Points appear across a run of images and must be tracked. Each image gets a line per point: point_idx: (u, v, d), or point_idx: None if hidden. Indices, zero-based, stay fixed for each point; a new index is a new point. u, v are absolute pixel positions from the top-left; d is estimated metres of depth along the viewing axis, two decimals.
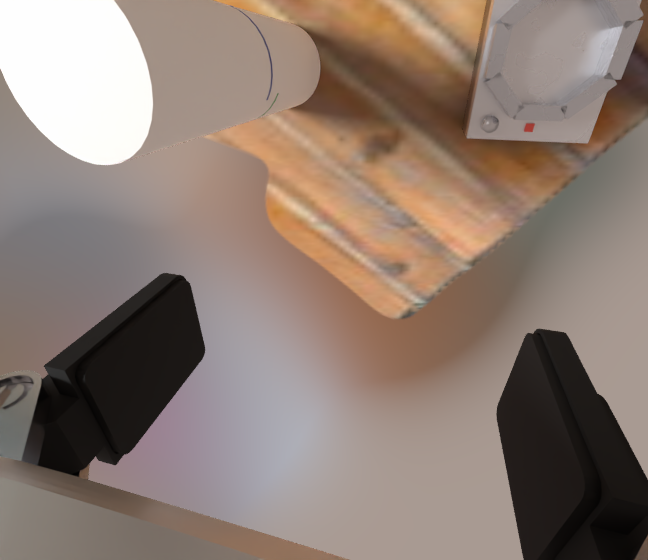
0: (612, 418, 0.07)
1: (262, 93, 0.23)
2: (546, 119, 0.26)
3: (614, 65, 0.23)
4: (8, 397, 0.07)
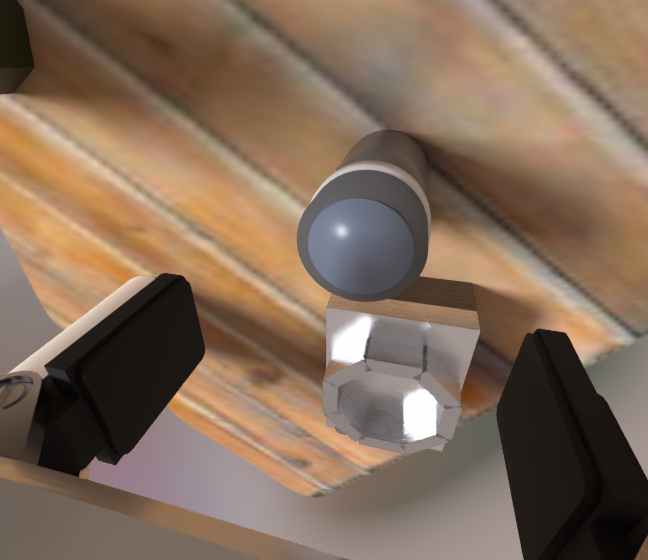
0: (611, 417, 0.07)
1: None
2: (388, 449, 0.25)
3: (442, 430, 0.22)
4: (8, 397, 0.07)
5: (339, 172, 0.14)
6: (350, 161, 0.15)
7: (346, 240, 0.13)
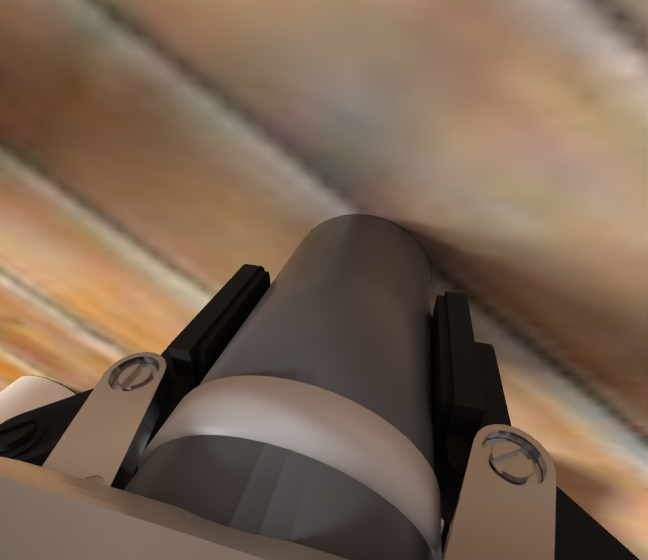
0: (495, 360, 0.08)
1: None
2: None
3: None
4: (137, 376, 0.07)
5: (189, 425, 0.05)
6: (253, 339, 0.07)
7: None
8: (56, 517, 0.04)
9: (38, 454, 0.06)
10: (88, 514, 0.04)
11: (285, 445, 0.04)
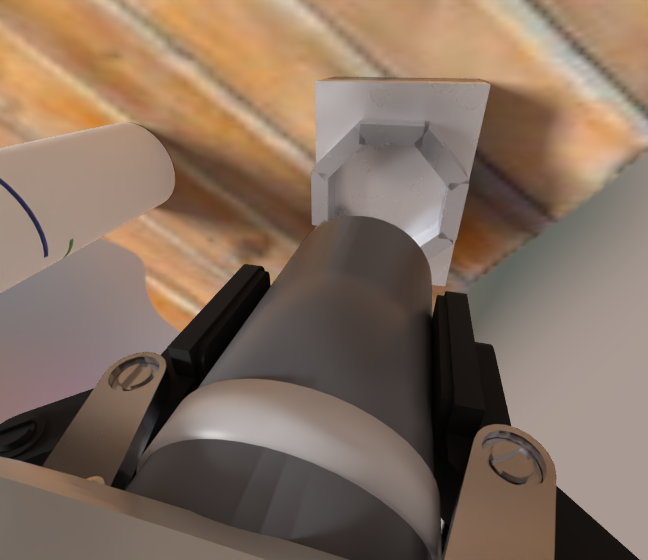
0: (494, 361, 0.08)
1: (25, 260, 0.19)
2: None
3: (446, 225, 0.20)
4: (137, 376, 0.07)
5: (188, 429, 0.05)
6: (252, 342, 0.07)
7: None
8: (57, 517, 0.04)
9: (38, 454, 0.06)
10: (88, 514, 0.04)
11: (284, 450, 0.04)
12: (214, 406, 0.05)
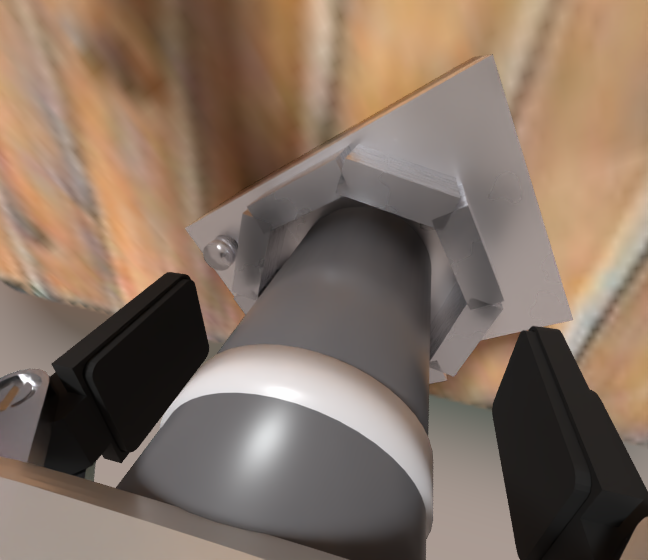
0: (604, 413, 0.07)
1: None
2: None
3: None
4: (16, 395, 0.07)
5: (208, 385, 0.06)
6: (263, 316, 0.07)
7: None
8: (56, 517, 0.04)
9: None
10: (88, 514, 0.04)
11: (293, 400, 0.05)
12: (230, 367, 0.06)
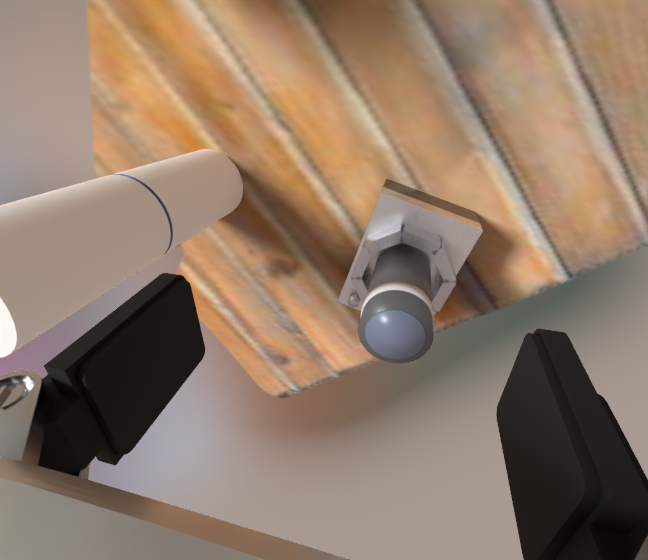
0: (611, 417, 0.07)
1: (157, 256, 0.27)
2: None
3: (435, 302, 0.31)
4: (8, 397, 0.07)
5: (363, 305, 0.25)
6: (368, 291, 0.27)
7: (385, 335, 0.24)
8: (57, 517, 0.04)
9: None
10: (89, 514, 0.04)
11: (377, 293, 0.25)
12: (365, 300, 0.26)
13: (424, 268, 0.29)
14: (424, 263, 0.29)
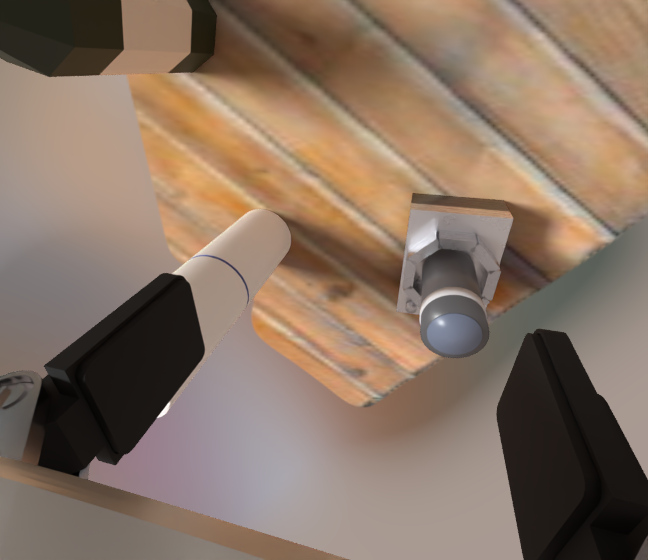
0: (612, 418, 0.07)
1: (241, 312, 0.33)
2: None
3: (486, 292, 0.33)
4: (8, 397, 0.07)
5: (420, 314, 0.29)
6: (421, 300, 0.31)
7: (446, 336, 0.27)
8: (56, 517, 0.04)
9: None
10: (88, 514, 0.04)
11: (429, 301, 0.28)
12: (420, 309, 0.29)
13: (467, 266, 0.31)
14: (466, 261, 0.32)
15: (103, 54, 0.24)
